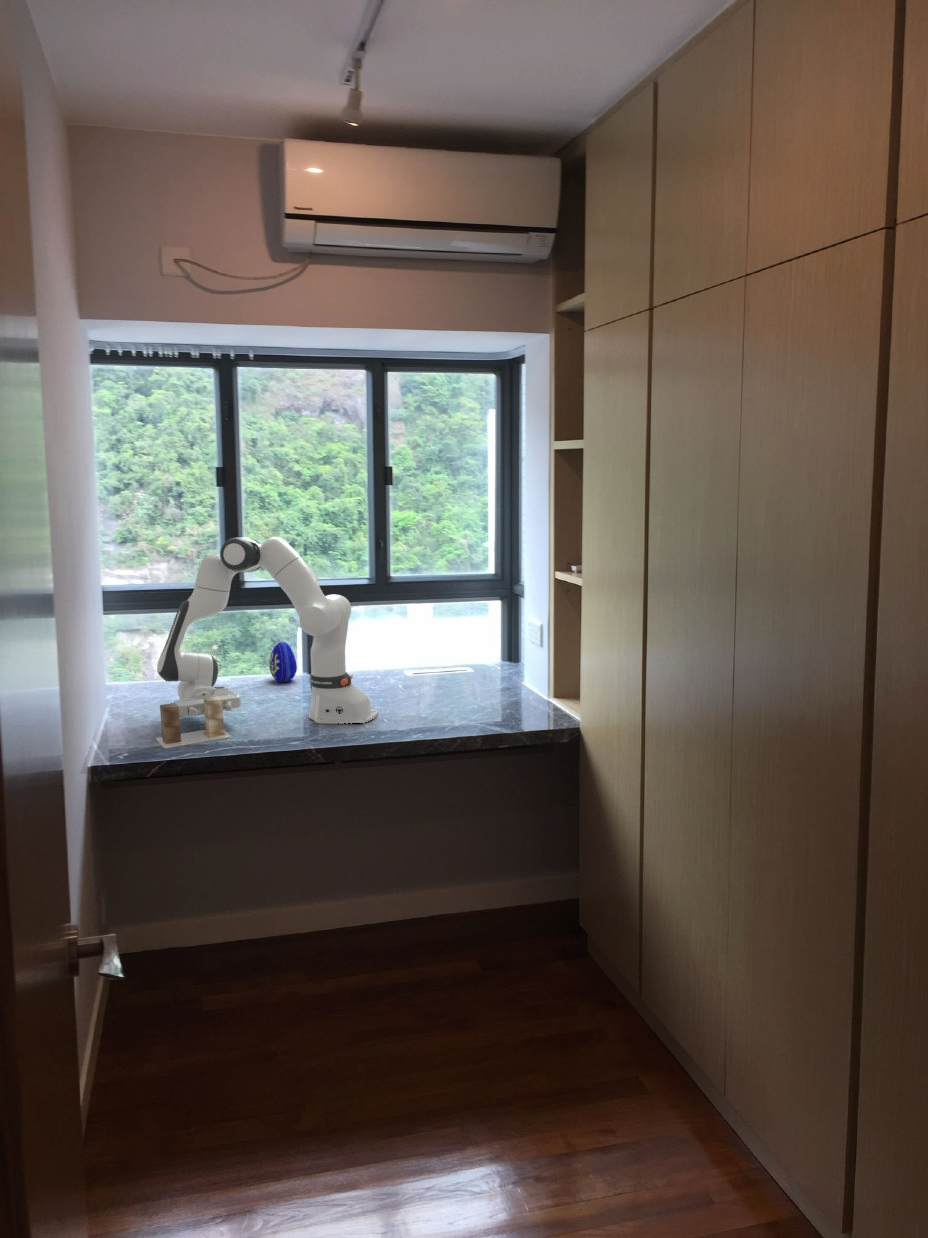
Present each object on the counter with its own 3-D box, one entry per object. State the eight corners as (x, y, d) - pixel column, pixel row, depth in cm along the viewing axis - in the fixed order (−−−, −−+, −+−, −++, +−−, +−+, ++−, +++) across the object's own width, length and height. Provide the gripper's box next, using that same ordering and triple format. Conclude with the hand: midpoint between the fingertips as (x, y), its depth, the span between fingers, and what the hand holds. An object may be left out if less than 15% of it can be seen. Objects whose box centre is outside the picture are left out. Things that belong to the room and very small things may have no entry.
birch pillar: (220, 730, 292) (217, 696, 290) (224, 734, 289) (222, 699, 287) (205, 732, 290) (203, 698, 288) (209, 736, 286) (207, 701, 284)
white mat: (220, 728, 296) (220, 726, 296) (231, 738, 287) (231, 736, 287) (155, 740, 286) (155, 738, 286) (164, 750, 277) (164, 748, 277)
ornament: (266, 680, 353) (264, 641, 350) (288, 676, 358) (286, 637, 356) (279, 686, 344) (277, 646, 341) (302, 682, 350) (300, 642, 347)
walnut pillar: (177, 737, 286) (174, 702, 284) (181, 741, 282) (178, 706, 280) (162, 740, 284) (159, 705, 281) (166, 744, 280) (163, 708, 278)
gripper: (167, 695, 293) (178, 706, 281) (231, 685, 303) (245, 695, 292) (168, 714, 294) (180, 726, 283) (233, 704, 305) (246, 715, 293)
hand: (213, 710), depth 287 cm, fingers open, 8 cm apart
